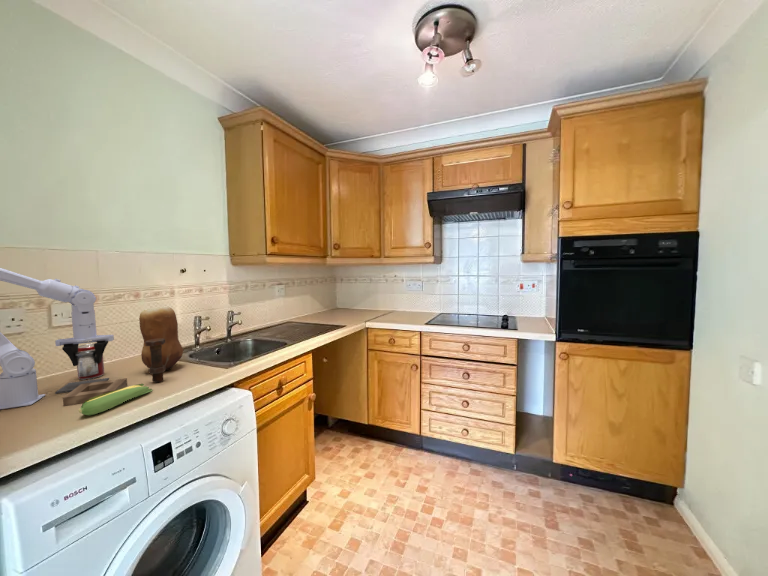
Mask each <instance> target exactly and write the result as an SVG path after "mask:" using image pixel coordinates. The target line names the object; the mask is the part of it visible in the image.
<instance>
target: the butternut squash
mask: <svg viewBox="0 0 768 576" xmlns="http://www.w3.org/2000/svg"><path fill="white" fill-rule="evenodd" d="M138 318H139V329H140V334H141V336H142V339H143V345H142V350H141V355H140V356H141V361H142V363H143V364H144V365H145V366H146V367H147V368H148V369H149V368H150V367H152V366H151V352H150V346H145V342H146V341H148V340H151V339H160V338H162V339H165V343H164V344H163V345H162V348H161V353H162V365H165V367H166V369H165V371H168V370H171V369H172V368H174V366H175V365H176V364H177V363H178V362H179V361H180V359H182V357H183V354H184V348H183V346H182V344H181V341H180V340H179V330H178V329H179V325H178V320H177V315H176V312H175V310H174V309H173V308H172V307H170V306H163V307H157V308H147V309H144V310H142V311H141V312H140V313H139V317H138Z"/></svg>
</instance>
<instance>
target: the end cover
mask: <svg viewBox="0 0 768 576" xmlns="http://www.w3.org/2000/svg"><path fill="white" fill-rule="evenodd" d="M75 356H77V361H78V371H79V377H84V376H90V375H94V374H97V373H98V364H97V362H96V352H95V350H87V351H81V352H77V353H75Z"/></svg>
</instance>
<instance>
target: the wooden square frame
mask: <svg viewBox="0 0 768 576" xmlns="http://www.w3.org/2000/svg"><path fill="white" fill-rule="evenodd" d="M126 387H128V378H126V377H123V378H119V379H118V378H117V379H109V380H108V381H101V382H94V383H86V384H81V385H79V386H78V387H77V388H75V389H74V390H73V391H71V392H68V393H67V394H66V395H64V396H63V397H62V404H63V407H65V406H72V405H73V404H74V405H79V404H83V403H84V402H85V401H86V400H88V399H91V398H93V397H96V396H99V395H102V394H105V393H109V392H112V391H115V390H119V389H122V388H126Z"/></svg>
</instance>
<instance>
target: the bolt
mask: <svg viewBox="0 0 768 576" xmlns="http://www.w3.org/2000/svg"><path fill="white" fill-rule="evenodd" d="M164 343H165V339H162V338H160V339H151V340H148V341H146V342H145V346H150V352H151V366H152V367H150V368H148V373H149V374H151V375H152V376H151V378H152V382H153V383H156V384H158V383H162V382H163V381H164V372H165V371H166V370H165V369H166V367H165V365H162V353H161V348H162V345H163V344H164Z"/></svg>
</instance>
